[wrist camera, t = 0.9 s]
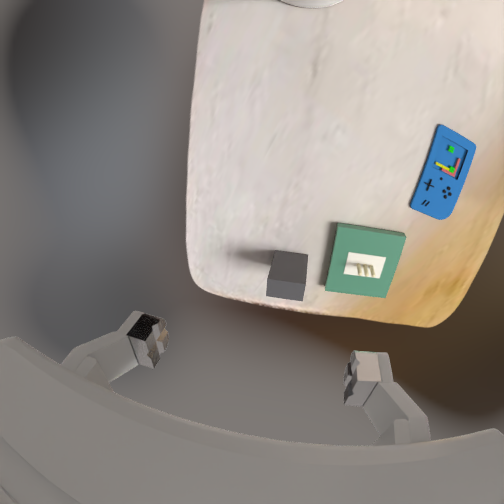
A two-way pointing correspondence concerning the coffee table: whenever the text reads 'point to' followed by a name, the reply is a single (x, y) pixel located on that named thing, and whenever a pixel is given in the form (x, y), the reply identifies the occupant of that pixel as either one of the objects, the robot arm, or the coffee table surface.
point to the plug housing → (287, 276)
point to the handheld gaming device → (443, 174)
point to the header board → (363, 260)
